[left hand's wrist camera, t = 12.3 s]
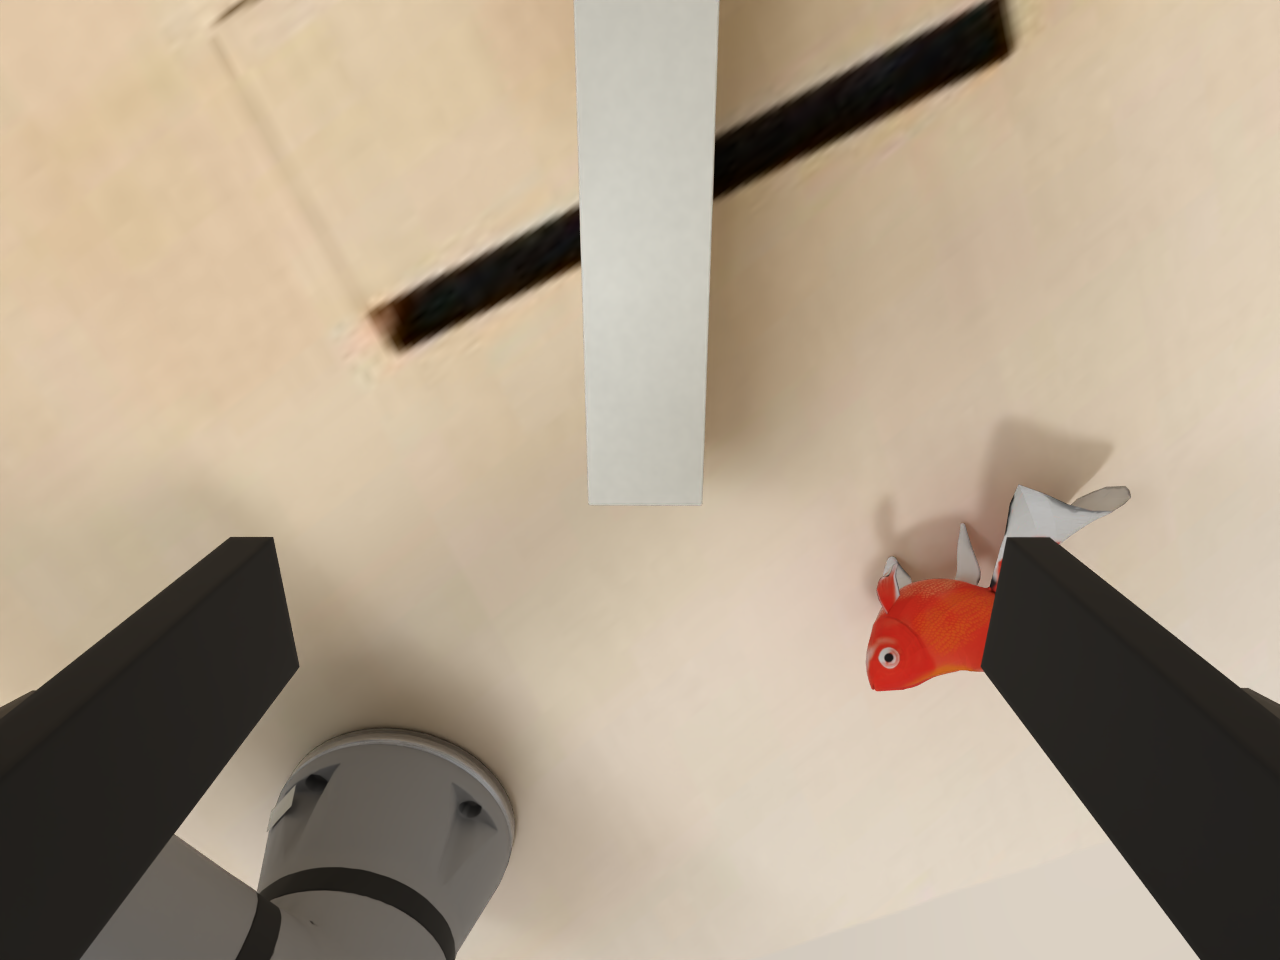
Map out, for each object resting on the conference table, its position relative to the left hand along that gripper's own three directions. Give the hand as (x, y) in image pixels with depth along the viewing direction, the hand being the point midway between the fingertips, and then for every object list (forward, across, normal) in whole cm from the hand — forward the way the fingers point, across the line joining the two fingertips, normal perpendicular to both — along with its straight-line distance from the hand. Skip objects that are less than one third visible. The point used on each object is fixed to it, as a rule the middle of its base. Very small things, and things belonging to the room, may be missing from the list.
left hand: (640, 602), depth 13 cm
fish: (+24, -18, +11) cm, 32 cm away
